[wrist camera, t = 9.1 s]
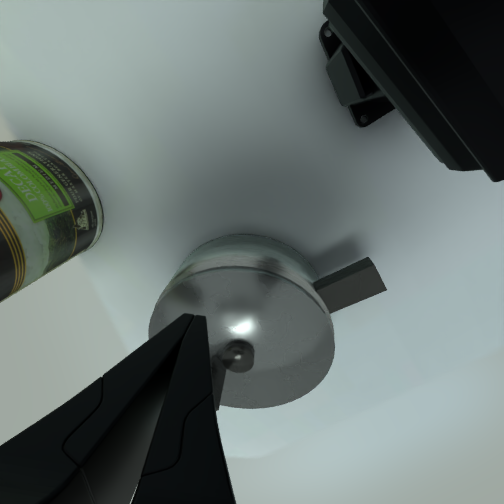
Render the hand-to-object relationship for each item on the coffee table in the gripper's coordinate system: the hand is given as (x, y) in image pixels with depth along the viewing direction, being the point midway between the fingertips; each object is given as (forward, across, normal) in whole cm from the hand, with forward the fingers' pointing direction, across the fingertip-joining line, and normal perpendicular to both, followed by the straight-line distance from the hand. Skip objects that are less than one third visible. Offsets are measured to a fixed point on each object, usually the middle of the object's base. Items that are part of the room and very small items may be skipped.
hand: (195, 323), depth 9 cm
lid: (+8, 0, +11) cm, 13 cm away
